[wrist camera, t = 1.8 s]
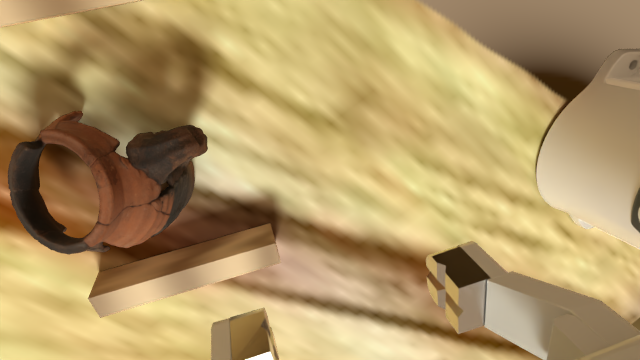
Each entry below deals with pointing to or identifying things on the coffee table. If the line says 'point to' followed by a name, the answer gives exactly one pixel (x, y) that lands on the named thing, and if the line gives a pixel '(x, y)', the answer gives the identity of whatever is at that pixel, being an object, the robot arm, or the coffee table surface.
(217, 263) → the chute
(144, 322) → the coffee table surface
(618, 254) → the coffee table surface
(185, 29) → the coffee table surface
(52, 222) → the broken brown clay pot
